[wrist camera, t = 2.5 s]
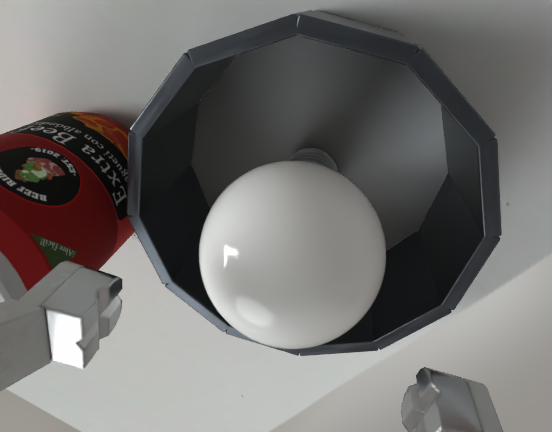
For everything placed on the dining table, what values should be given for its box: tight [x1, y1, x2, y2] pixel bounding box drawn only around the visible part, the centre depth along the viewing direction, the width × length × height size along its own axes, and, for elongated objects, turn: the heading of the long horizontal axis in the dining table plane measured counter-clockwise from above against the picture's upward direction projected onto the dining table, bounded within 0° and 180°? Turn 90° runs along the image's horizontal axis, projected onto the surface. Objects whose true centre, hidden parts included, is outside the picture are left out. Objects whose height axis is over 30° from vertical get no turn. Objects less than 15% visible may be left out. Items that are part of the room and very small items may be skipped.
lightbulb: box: [199, 148, 386, 349], centre depth 15 cm, size 6×6×11 cm
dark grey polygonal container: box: [127, 10, 501, 356], centre depth 17 cm, size 14×14×6 cm
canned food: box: [0, 112, 135, 303], centre depth 18 cm, size 8×8×11 cm
